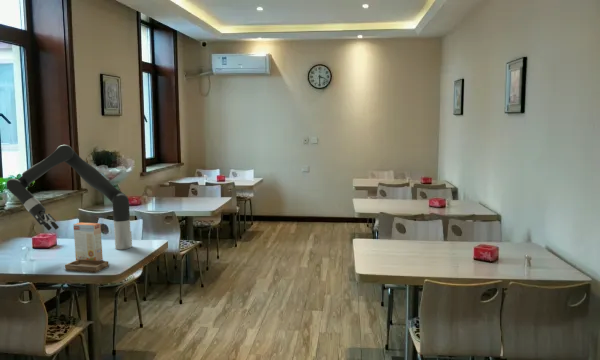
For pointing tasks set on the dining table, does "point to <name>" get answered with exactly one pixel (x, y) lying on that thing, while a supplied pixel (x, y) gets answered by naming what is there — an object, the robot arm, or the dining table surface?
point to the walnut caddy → (86, 265)
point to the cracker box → (88, 241)
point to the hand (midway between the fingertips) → (53, 228)
